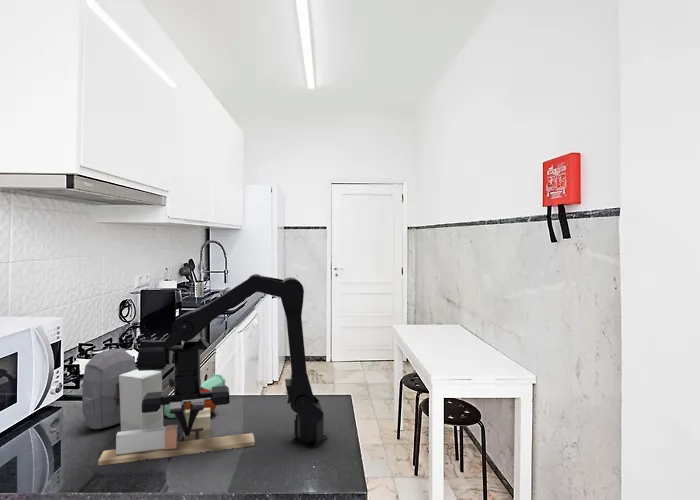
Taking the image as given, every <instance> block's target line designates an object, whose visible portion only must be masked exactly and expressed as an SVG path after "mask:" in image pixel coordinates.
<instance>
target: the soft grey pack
mask: <svg viewBox="0 0 700 500" xmlns="http://www.w3.org/2000/svg"><path fill="white" fill-rule="evenodd" d="M136 369H138V368H137V363H136V362H135V357H134V356H133V355H131V354H130V353H129V352H127V351H125V350H124V349H122V348H110V349H107V350H102V351H100V352H98V353H97V354H94V355H93V356H92V357H91V358H90V360H89V361H88V362H86V364H85V366H84V373H83V378H82V393H81V394H82V395H81V398H82V399H81V400H82V414H83V417H84V421H85V422H86V424H87V427H88V428H89V429H91V430H101V429H105V428H109V427H111V426H116V425H118V424H121V417H120V389H119V375H121V374H124V373H128V372H131V371H133V370H136Z"/></svg>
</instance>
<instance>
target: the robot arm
mask: <svg viewBox="0 0 700 500" xmlns="http://www.w3.org/2000/svg"><path fill="white" fill-rule="evenodd" d="M256 293H261V294H266V295H269V296H273V297H277V298H280V300H281V303H282V307H283V310H284V314H285V318H286V329H287V340H288V349H289V352H288V353H289V361H290V371H291V373H290V378H284V381H285V382H284V383H285V389H286V393H285V394H286V402H287V404H288V405H290V408H291V410H292V411H293V412H294V413H296V414H295V419H294V424H293V425H294V428H293V430H294V433H293V435H294V437H293V438H291V443H294V444H297V445H300V446H303V447H307V448H311V449H313V448H315V447H316V446H318V445H319V444H322V443H323V442H324V441H326V440H327V439H328V436H327V435H325V433H324V429H325V426H324V423H325V422H324V421H325V417H324V416H325V415H324V413H325V412H324V411H323V407H322V404H321V401H320V399H318V397H316V396H315V395H314V392H313V391H312V390H313V389H312V386H311V382H310V379H309V375H308V371H307V360H306V351H305V350H306V349H305V341H304V339H305V338H304V331H303V329H304V328H303V319H302V314H303V307H304V295H305V289H304V286H303V284H302V283H301V282H300V280H298V279H297V278H295V277H286V278H284V279H282V278H276V277H271V276H265V275H261V274H258V273H254V274H251V275H250V276H249V277H248V278H247V279H245V280H244V281H242V282H241V283H239V284H237V285H236V286H234V287H233V288H232V289H230V290H228V291H226V292H225V293H223V294H222V295H220V296H218V297H217V298H215V299H213V301H211V302H209V303H207V304H205V305H202V306H200V307H197V308H195V309H192V310H190V311H187V312H184V313H183V314H181V315H180V316H179V317H177V318H176V319H175V320H174V321H173V323H172V325H171V333H170V334H169V335H168V336H167V337H165V339H162V340H161V339H159V340H158V339H157V340H151V339H142V340H141V341H140V342H139V349H138V354H137V357H136V367H137V369H138V370H139V371H147V370H154V371H164V370H167V368H168V366H170V365H172V364H173V373H169V380H168V384H169V385H168V386H169V387H170V388H173V394H172V395H164V391H163V390H162V392H152V393H147V394H146V395H145V396H144V398H143V401H142V413H148V412H157V411H158V410H159V409H160V408H161V405H163V406H165V405H168V404H170V414H175V416H176V419H177V420H178V422H179V425H180V426H181V428H182V431H183V435H184V434H185V436H189V435H190V432H191V429H192V426H193V423H194V420H195V418H196V416H197V414H198V412H199V411H201V410H204V401H207V400H212V403H213V404H214V405H216V406H222V405H229V404H230V389H229V386H227V385H225V386H216V387H212V392H202V393H200V391H201V383H202V379H201V351H202V350H207V349H208V348H209V346H210V344H209V342H207V341H206V340H205V339H204V338H203V337H200V338H199V339H198V340H194V341H193V339H194V338H195V337H197V336H198V335H199V334H201V332H202V331H203V330H204V329H206V327H208V326H209V325H210V324H211V323H212V322H213V321H214V320H215V319H216V318H218V317H219V316H221V315H223V314H225V313H226V312H227V311H229V310H230V309H232V308H233V307H235V306H236V305H237V306H238V304H240V303H241V302H243V301H245V300H246V299H248V298H250V297H251V296H252V295H254V294H256ZM181 342H183V344H179V343H181ZM187 402H191V407H190V414H189V422H188V427H187V419H186V412H185V403H187Z"/></svg>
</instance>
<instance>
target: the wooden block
mask: <svg viewBox="0 0 700 500" xmlns="http://www.w3.org/2000/svg"><path fill="white" fill-rule="evenodd" d="M185 412H186V419H187V427H188V422H189V414H190V410H185ZM207 438H211V413H210V408H204V410H201V411H199V412H198V414H197V416H196V418H195V420H194V423H193V426H192V429H191V432H190V435H189V436H185V434H184V433H183V441H190V440H198V439H207Z"/></svg>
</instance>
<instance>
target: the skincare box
mask: <svg viewBox="0 0 700 500" xmlns="http://www.w3.org/2000/svg"><path fill="white" fill-rule="evenodd" d="M162 371H163V370H147V371H139V370H138V368H137V369H136V370H133V371H131V372H128V373H124V374H121V375H119V389H120V417H121V423H120V432H122V431H131V430H140V429H149V428H159V427H164V405H161V408H160V409H159V410H158V411H157V412H148V413H142V401H143V398H144V396H145V395H146V394H147V393H152V392H162V391H163V372H162Z"/></svg>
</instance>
